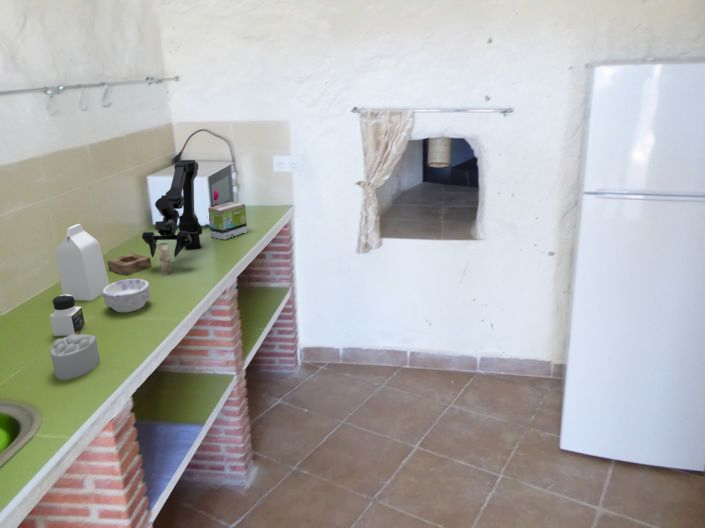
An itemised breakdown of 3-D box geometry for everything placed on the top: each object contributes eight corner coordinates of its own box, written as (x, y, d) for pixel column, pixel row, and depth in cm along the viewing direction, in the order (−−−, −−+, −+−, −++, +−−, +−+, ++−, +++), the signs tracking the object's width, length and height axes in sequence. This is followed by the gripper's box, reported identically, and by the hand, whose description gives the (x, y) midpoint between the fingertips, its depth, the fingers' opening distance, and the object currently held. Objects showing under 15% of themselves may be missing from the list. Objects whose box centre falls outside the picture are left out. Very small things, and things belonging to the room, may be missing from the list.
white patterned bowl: (103, 319, 201) (99, 297, 198) (108, 302, 215) (104, 281, 212) (151, 312, 205) (148, 291, 202) (153, 296, 218) (149, 276, 216)
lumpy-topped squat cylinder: (104, 357, 175) (99, 330, 172) (81, 380, 163) (75, 351, 160) (70, 356, 176) (65, 329, 173) (45, 379, 164) (39, 351, 161)
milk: (91, 300, 217) (78, 231, 208) (63, 299, 219) (48, 230, 210) (110, 288, 228) (98, 222, 219) (83, 287, 230) (70, 221, 221)
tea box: (224, 241, 281) (221, 210, 276) (210, 237, 286) (206, 207, 281) (248, 233, 292) (245, 203, 287) (233, 230, 298) (230, 200, 293)
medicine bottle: (75, 336, 189) (68, 300, 185) (53, 336, 190) (45, 301, 185) (85, 326, 196) (78, 292, 192) (64, 326, 196) (56, 292, 192)
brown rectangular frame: (134, 261, 256) (132, 253, 255) (151, 266, 249) (150, 257, 248) (108, 270, 247) (107, 261, 246) (126, 275, 240) (124, 266, 239)
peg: (171, 270, 244) (167, 242, 240) (172, 273, 240) (168, 245, 236) (161, 272, 243) (157, 243, 239) (161, 275, 239) (157, 246, 235)
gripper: (139, 212, 239) (132, 247, 232) (185, 211, 237) (179, 247, 230) (150, 226, 249) (143, 260, 242) (194, 225, 247) (189, 259, 240)
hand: (163, 256), depth 238 cm, fingers open, 9 cm apart
